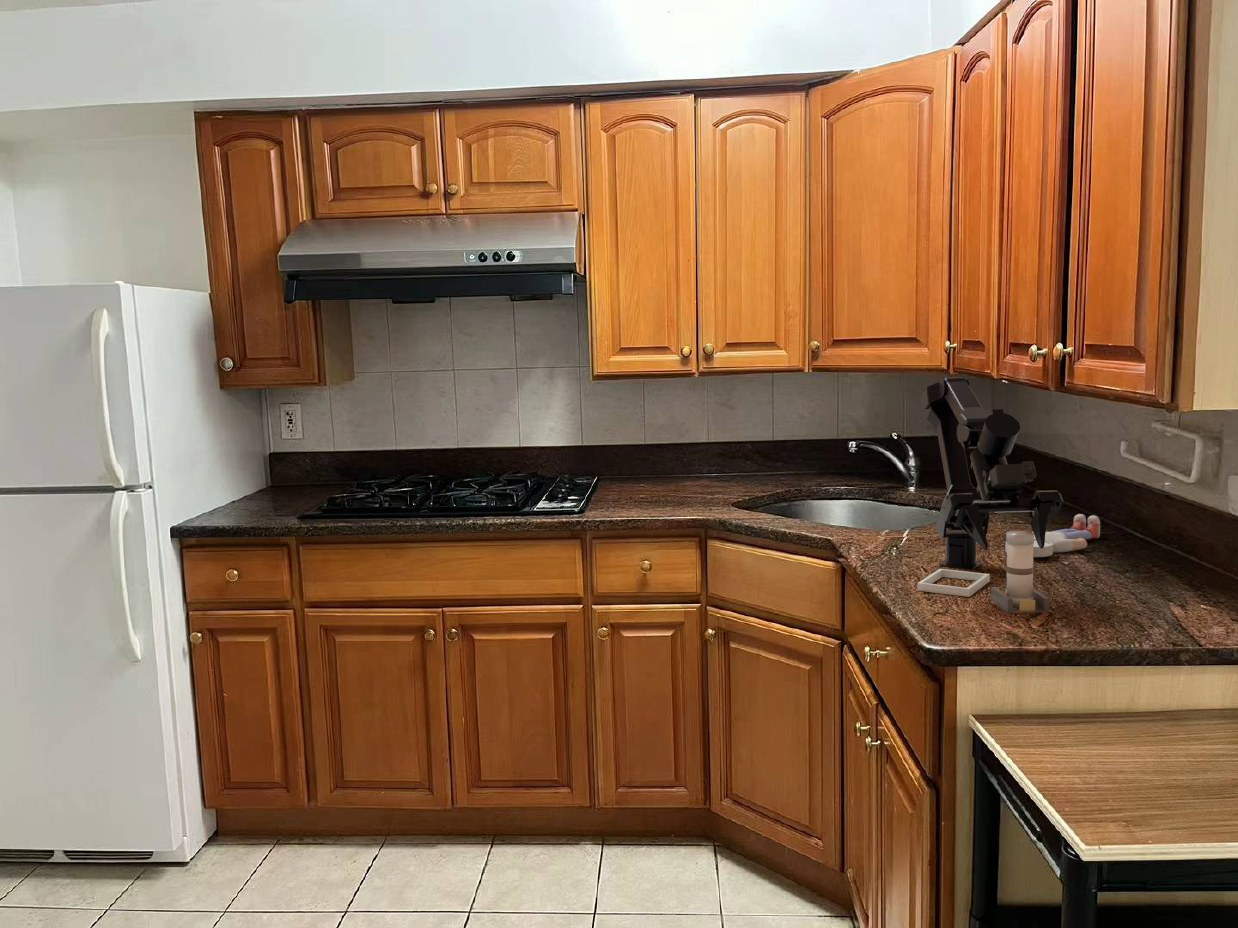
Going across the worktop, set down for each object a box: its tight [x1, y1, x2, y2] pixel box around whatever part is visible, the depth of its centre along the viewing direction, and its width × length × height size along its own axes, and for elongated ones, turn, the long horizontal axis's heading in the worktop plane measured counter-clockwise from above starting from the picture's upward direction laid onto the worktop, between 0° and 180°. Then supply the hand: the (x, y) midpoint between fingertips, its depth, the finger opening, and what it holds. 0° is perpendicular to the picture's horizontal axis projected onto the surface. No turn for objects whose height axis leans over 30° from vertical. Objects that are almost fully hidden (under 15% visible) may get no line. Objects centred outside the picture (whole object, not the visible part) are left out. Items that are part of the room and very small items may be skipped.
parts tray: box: [916, 568, 991, 598], centre depth 173 cm, size 12×9×2 cm
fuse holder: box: [988, 586, 1053, 614], centre depth 160 cm, size 9×7×3 cm
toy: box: [1004, 513, 1101, 558], centre depth 204 cm, size 6×13×30 cm
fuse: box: [1005, 530, 1034, 608], centre depth 159 cm, size 4×4×12 cm
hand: (1014, 548), depth 162 cm, fingers open, 9 cm apart
